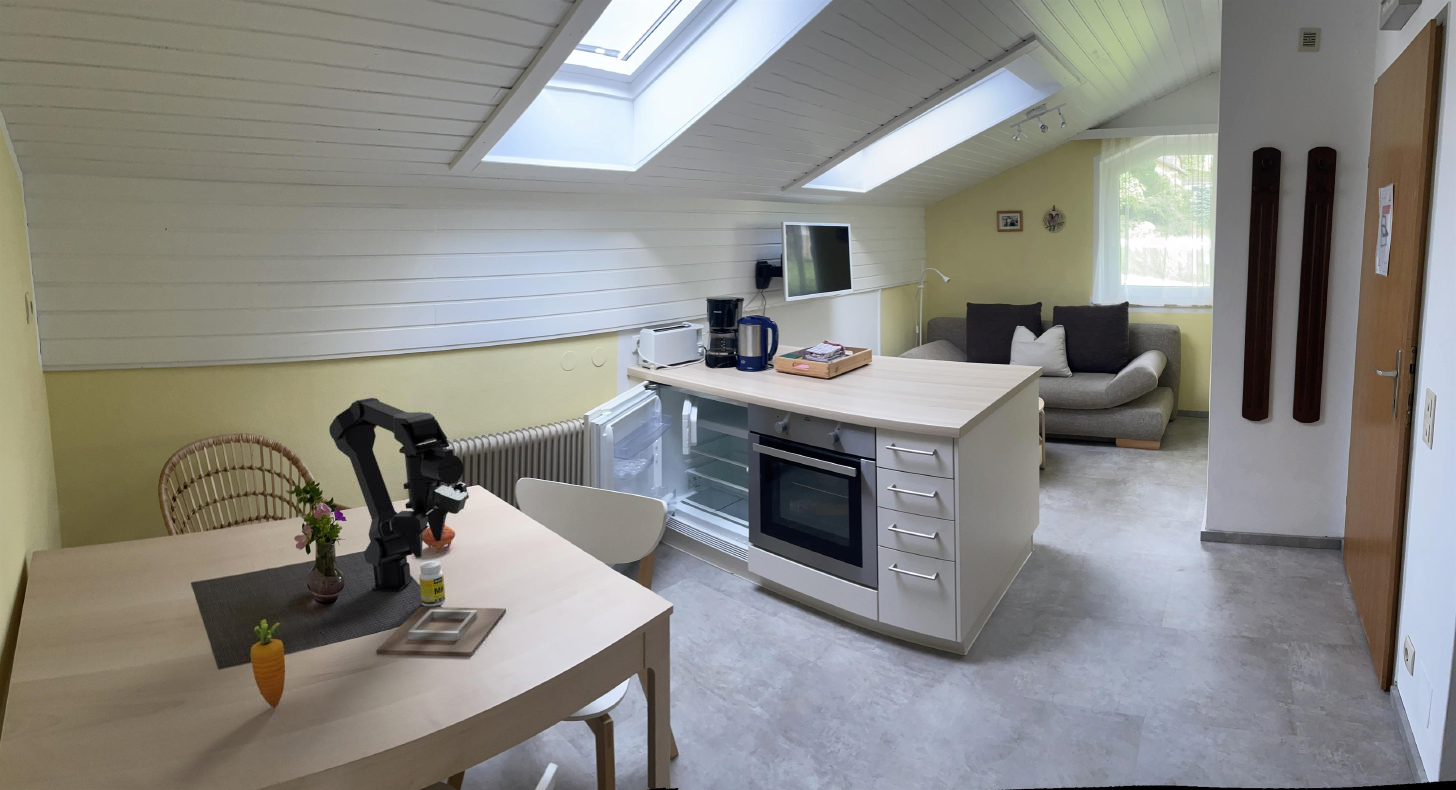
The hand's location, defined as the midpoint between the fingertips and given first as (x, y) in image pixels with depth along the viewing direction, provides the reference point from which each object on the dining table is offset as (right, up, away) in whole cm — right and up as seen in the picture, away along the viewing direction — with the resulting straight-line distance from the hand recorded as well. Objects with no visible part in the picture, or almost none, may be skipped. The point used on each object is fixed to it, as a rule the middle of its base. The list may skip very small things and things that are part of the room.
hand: (428, 548), depth 173 cm
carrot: (-12, -19, -36) cm, 43 cm away
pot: (-9, -6, +33) cm, 34 cm away
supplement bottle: (0, -12, +2) cm, 12 cm away
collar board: (+7, -14, -11) cm, 19 cm away
